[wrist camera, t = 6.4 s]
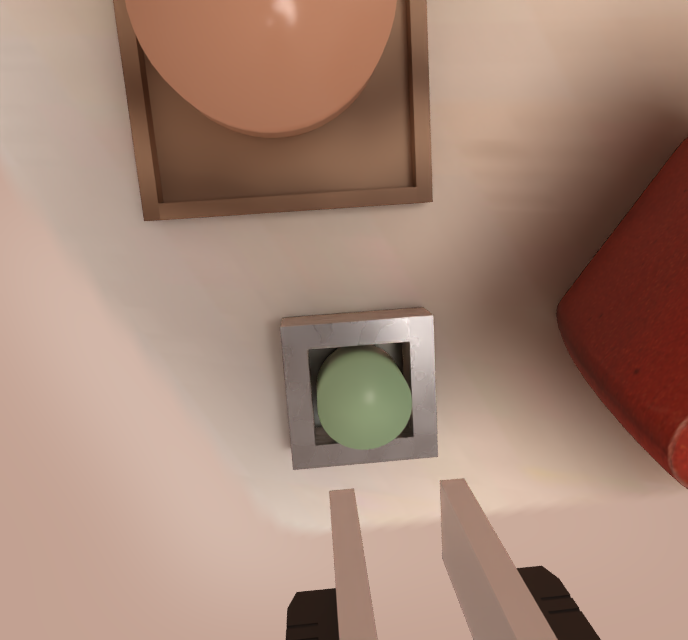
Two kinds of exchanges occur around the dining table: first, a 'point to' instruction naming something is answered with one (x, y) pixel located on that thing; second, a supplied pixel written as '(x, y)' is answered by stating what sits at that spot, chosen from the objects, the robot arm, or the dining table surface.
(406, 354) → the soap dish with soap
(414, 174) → the brown divided tray
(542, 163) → the dining table surface
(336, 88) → the stacked pebble cairn
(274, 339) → the dining table surface
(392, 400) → the green soap bar
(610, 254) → the plant pot
